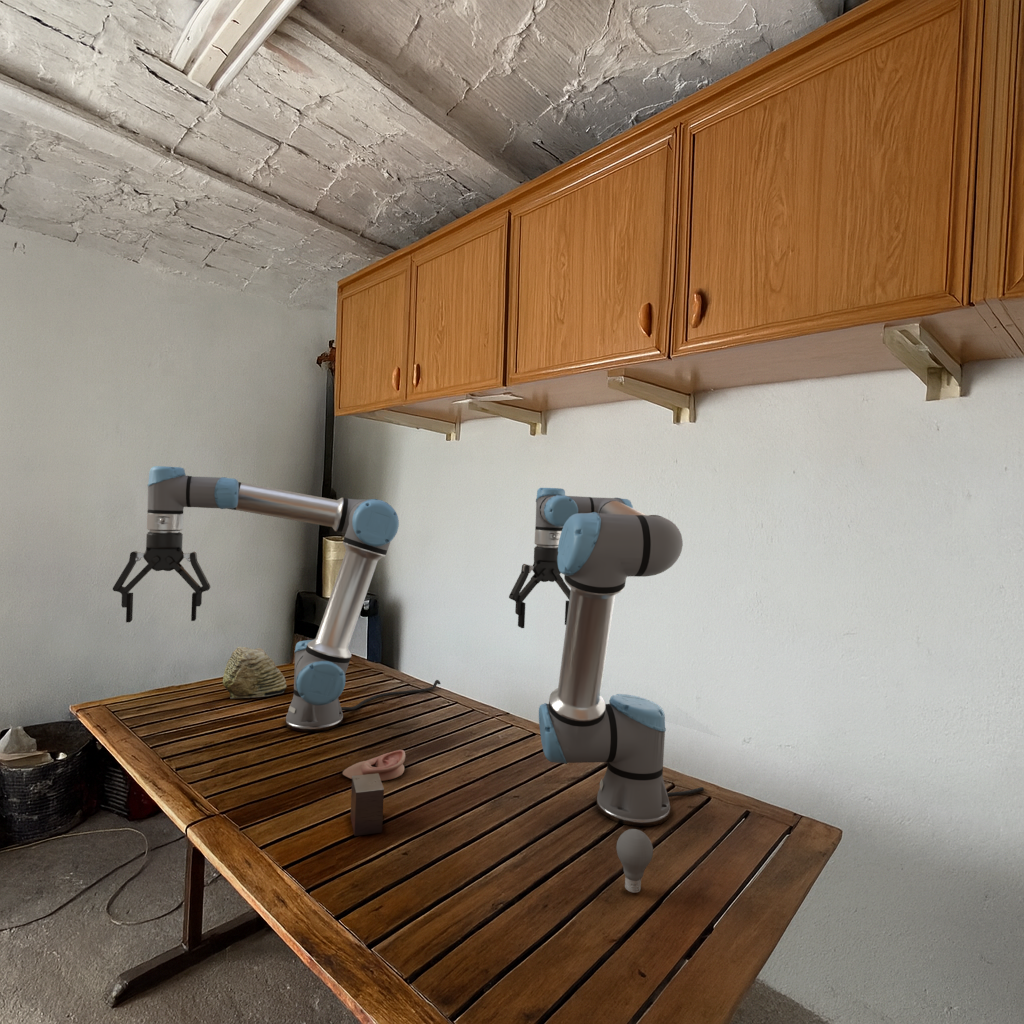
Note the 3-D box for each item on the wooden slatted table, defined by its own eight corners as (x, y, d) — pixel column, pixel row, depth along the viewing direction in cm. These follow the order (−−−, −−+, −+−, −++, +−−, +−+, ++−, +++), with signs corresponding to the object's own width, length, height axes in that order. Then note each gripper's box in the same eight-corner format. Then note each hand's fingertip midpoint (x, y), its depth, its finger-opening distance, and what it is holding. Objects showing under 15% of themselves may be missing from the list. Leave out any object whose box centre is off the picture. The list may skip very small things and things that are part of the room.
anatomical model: (336, 761, 142) (359, 742, 153) (336, 778, 142) (358, 758, 153) (392, 768, 139) (411, 749, 151) (391, 786, 139) (410, 765, 151)
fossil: (218, 695, 195) (220, 647, 195) (278, 685, 208) (279, 640, 207) (228, 703, 189) (230, 653, 188) (289, 692, 201) (290, 645, 201)
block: (354, 836, 119) (356, 792, 119) (350, 817, 126) (352, 775, 126) (382, 832, 121) (384, 789, 120) (376, 814, 128) (378, 772, 127)
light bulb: (610, 879, 108) (613, 822, 108) (644, 879, 109) (647, 822, 109) (619, 902, 102) (622, 840, 102) (655, 901, 103) (658, 840, 103)
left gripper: (99, 531, 142) (96, 625, 143) (221, 533, 151) (217, 622, 151) (108, 529, 149) (105, 618, 150) (223, 531, 158) (220, 616, 158)
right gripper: (509, 546, 159) (505, 630, 160) (597, 548, 168) (593, 627, 168) (499, 544, 166) (495, 624, 167) (584, 545, 175) (580, 622, 175)
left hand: (161, 620), depth 151 cm, fingers open, 13 cm apart
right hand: (544, 626), depth 167 cm, fingers open, 13 cm apart
